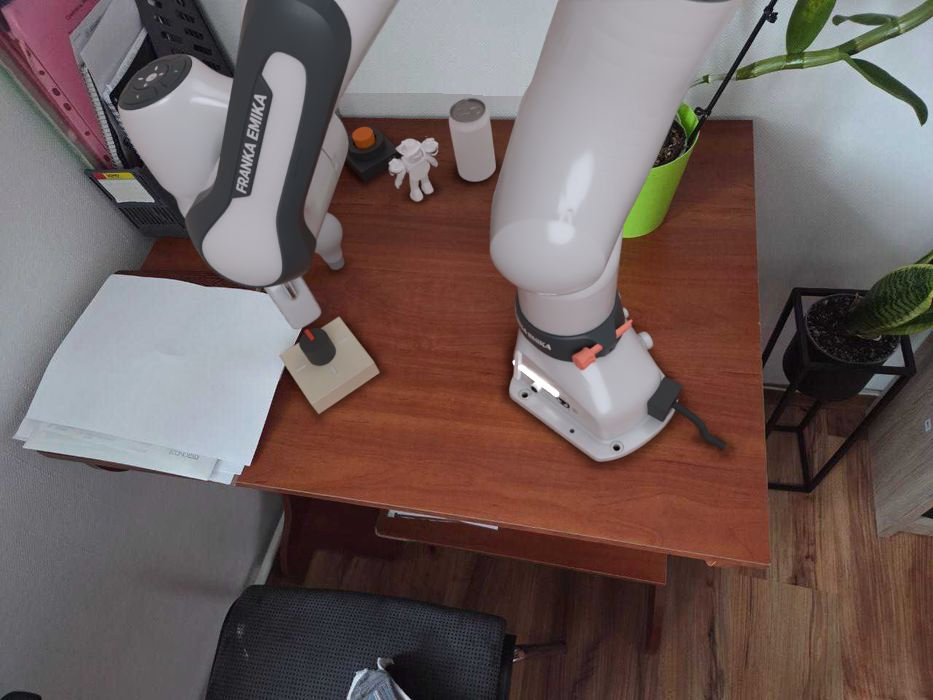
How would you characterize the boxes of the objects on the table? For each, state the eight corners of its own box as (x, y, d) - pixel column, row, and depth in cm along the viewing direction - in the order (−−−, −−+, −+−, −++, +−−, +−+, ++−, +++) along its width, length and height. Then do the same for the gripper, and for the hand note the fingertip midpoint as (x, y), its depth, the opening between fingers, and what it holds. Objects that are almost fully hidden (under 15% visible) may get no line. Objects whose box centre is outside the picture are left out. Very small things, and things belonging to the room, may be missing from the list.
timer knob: (341, 355, 84) (332, 340, 81) (316, 371, 84) (306, 357, 80) (327, 336, 86) (318, 321, 83) (303, 352, 86) (292, 337, 82)
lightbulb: (356, 279, 95) (334, 230, 86) (318, 284, 96) (291, 237, 86) (357, 249, 99) (336, 199, 89) (320, 254, 99) (295, 205, 90)
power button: (379, 141, 106) (376, 133, 105) (361, 152, 105) (358, 143, 104) (368, 132, 108) (365, 123, 106) (351, 142, 107) (348, 133, 106)
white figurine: (406, 213, 101) (389, 156, 91) (394, 200, 103) (375, 143, 93) (450, 185, 103) (438, 126, 93) (437, 174, 105) (424, 115, 95)
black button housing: (402, 159, 108) (397, 141, 105) (364, 182, 107) (358, 164, 103) (376, 135, 113) (370, 117, 109) (339, 156, 111) (332, 138, 108)
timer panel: (379, 372, 86) (374, 361, 83) (318, 414, 84) (310, 404, 81) (345, 327, 91) (338, 315, 88) (286, 365, 89) (277, 354, 86)
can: (496, 181, 102) (488, 121, 92) (457, 185, 103) (446, 125, 93) (496, 154, 106) (488, 93, 96) (458, 158, 106) (447, 98, 96)
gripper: (310, 258, 59) (350, 336, 70) (226, 151, 68) (273, 235, 80) (251, 293, 57) (303, 367, 69) (174, 179, 67) (230, 260, 79)
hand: (286, 295), depth 75 cm, fingers open, 8 cm apart
